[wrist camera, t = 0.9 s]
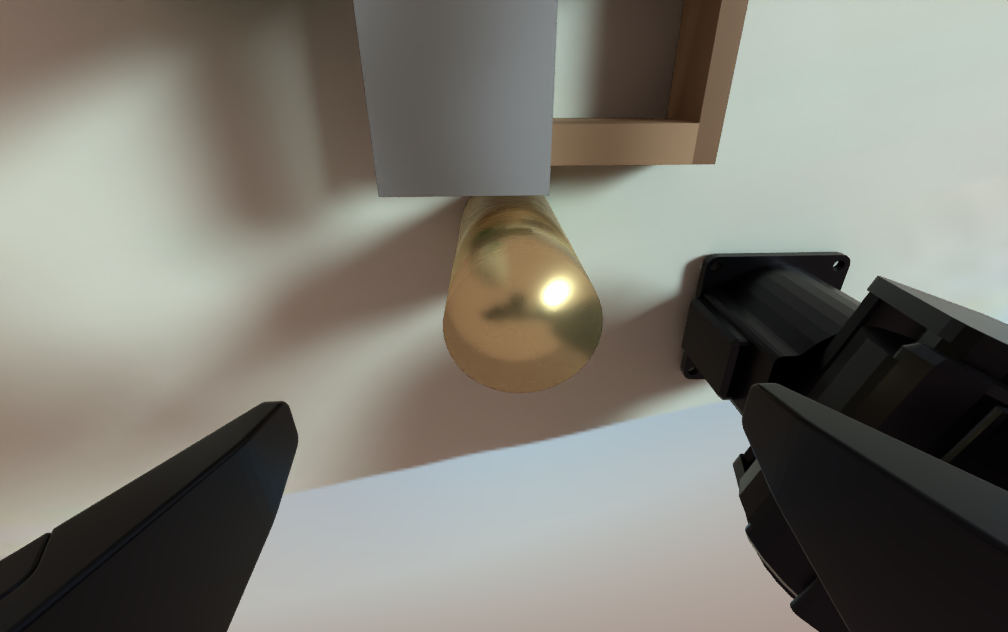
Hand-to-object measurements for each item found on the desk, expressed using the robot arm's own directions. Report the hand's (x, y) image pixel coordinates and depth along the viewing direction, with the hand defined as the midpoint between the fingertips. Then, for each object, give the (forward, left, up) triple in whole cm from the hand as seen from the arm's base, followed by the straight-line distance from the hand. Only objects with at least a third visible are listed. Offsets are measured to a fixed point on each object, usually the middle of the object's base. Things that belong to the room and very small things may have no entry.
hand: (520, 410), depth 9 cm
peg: (0, 0, -12) cm, 12 cm away
